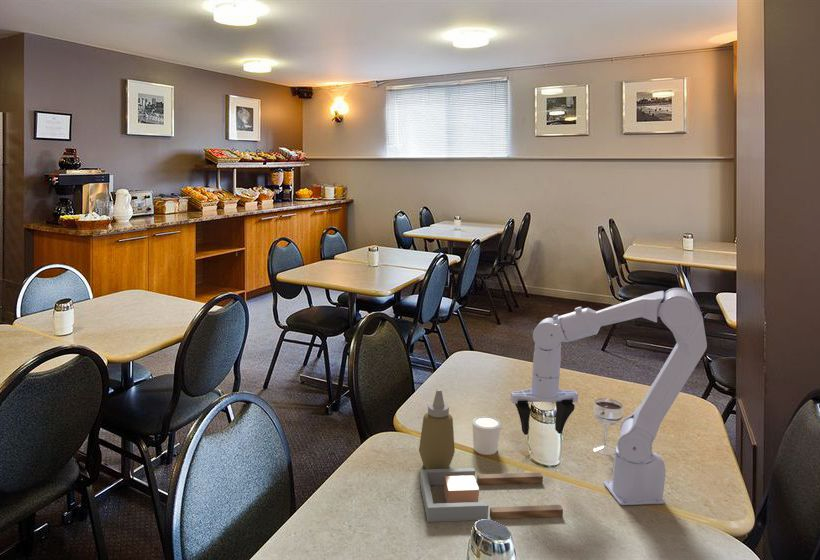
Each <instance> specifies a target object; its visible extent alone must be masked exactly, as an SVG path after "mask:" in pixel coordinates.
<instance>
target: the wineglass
mask: <svg viewBox="0 0 820 560" xmlns="http://www.w3.org/2000/svg"><path fill="white" fill-rule="evenodd" d="M593 403H594V406H593V408H592V411H593V412H592V413H593V417H594V418H595V419H596V420H597V421H598V422H599V423H601V424H602V425H603V426H604V432H603V433H604V434H603V435H604V436H603V444H596V445H594V446H593V451H594V452H596V453H597V454H600V455H604V456H613V455H615V449H614V448H612V447H610V446H608V445H607V438H608V430H609V427H610V426H614V425H617V424H618V423H619V422H621V420H622V418H624V417H623V416H624V412H623V409H624V404H623V403H622V402H620V401H618V400H617V399H616V400H615V399H612V398H607V397H601V398H600V397H599V398H595V400H594V401H593Z"/></svg>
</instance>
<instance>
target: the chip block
mask: <svg viewBox="0 0 820 560" xmlns="http://www.w3.org/2000/svg"><path fill="white" fill-rule="evenodd" d="M443 490H444V491H443V493H444V497H445V501H446V502H445V503H465V502H479V493H480V489H479V485H478V482H477V479H476V478H474V475H472V476H445V485H444V488H443Z"/></svg>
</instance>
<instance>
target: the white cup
mask: <svg viewBox="0 0 820 560" xmlns="http://www.w3.org/2000/svg"><path fill="white" fill-rule="evenodd" d="M471 421H472V438H473V440H472V441H473V450H474V451H475V452H476V453H478V454H480V455H484V456H485V455H487V456H490V455H494V454H495V453H497V451H498V447H499V442H500V441H499V440H500V435H501V434H500V432H501V428H502V423H501V420H499V419H498V418H495V417H493V416H485V415H484V416H483V415H481V416H476V417H474V418H473V420H471Z"/></svg>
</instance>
